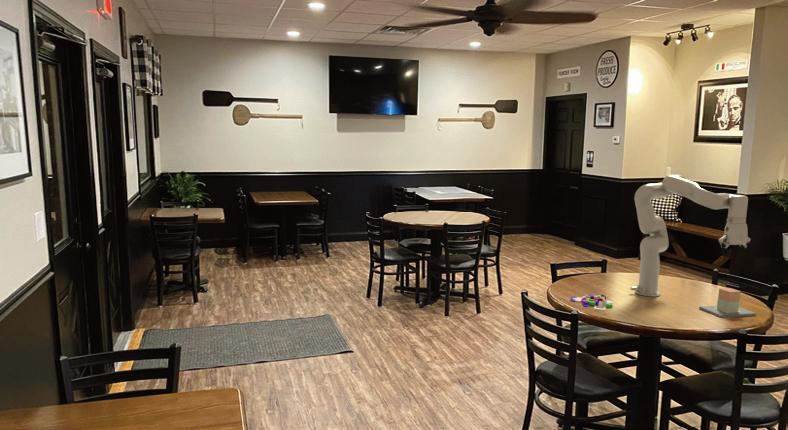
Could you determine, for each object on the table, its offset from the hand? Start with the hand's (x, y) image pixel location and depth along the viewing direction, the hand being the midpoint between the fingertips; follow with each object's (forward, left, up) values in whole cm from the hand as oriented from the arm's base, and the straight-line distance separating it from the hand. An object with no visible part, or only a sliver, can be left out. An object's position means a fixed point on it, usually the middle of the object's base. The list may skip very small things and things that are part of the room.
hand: (732, 255), depth 275 cm
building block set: (-58, +26, -29) cm, 70 cm away
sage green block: (0, 0, -27) cm, 27 cm away
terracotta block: (0, 0, -22) cm, 22 cm away
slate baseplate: (0, 0, -28) cm, 28 cm away
